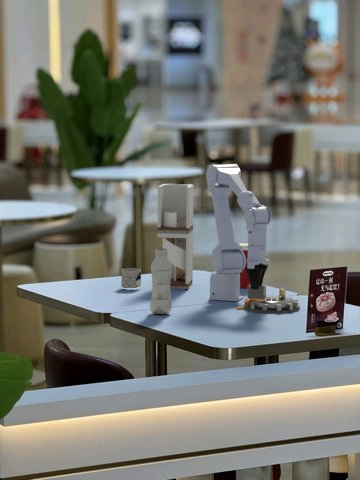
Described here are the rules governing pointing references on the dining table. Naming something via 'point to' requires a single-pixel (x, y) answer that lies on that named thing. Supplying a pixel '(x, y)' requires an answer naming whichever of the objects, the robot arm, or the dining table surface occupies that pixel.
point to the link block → (257, 292)
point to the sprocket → (273, 302)
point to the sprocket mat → (268, 310)
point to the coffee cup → (243, 275)
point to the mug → (131, 278)
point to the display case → (177, 230)
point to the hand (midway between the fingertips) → (256, 288)
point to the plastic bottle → (161, 282)
